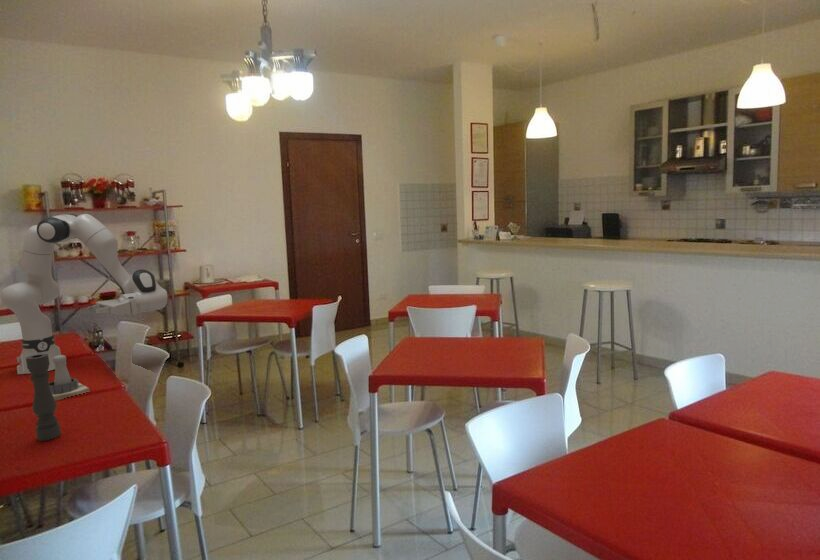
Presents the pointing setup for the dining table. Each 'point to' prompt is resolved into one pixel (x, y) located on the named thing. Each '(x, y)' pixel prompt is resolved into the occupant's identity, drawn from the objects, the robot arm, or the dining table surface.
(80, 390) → the birch stand
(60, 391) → the metal collar
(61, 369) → the salt shaker
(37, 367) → the candle holder
